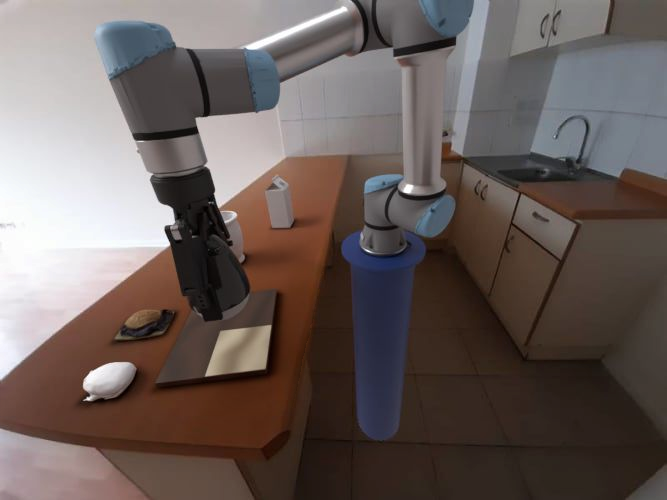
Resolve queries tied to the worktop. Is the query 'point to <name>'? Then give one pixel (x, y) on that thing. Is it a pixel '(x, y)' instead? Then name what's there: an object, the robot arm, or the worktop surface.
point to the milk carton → (279, 203)
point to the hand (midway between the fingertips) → (222, 297)
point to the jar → (234, 233)
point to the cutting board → (223, 345)
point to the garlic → (109, 380)
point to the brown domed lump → (145, 324)
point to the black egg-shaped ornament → (224, 278)
